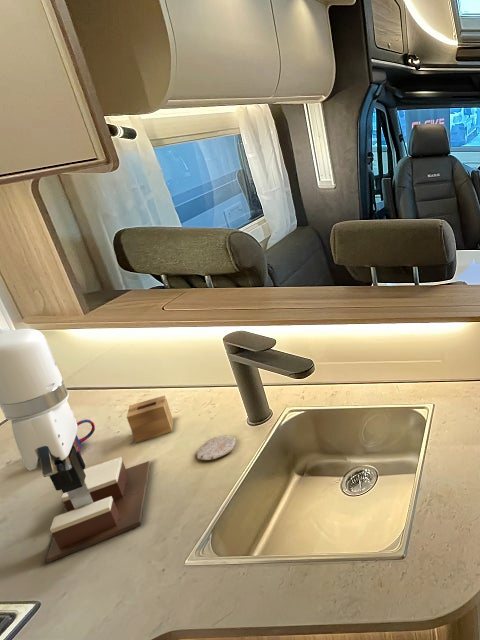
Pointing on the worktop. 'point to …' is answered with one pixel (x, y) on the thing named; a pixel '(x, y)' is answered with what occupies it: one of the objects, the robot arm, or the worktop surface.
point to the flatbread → (216, 447)
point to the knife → (80, 491)
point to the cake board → (127, 509)
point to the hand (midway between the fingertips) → (71, 478)
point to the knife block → (150, 418)
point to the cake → (103, 481)
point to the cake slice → (84, 522)
